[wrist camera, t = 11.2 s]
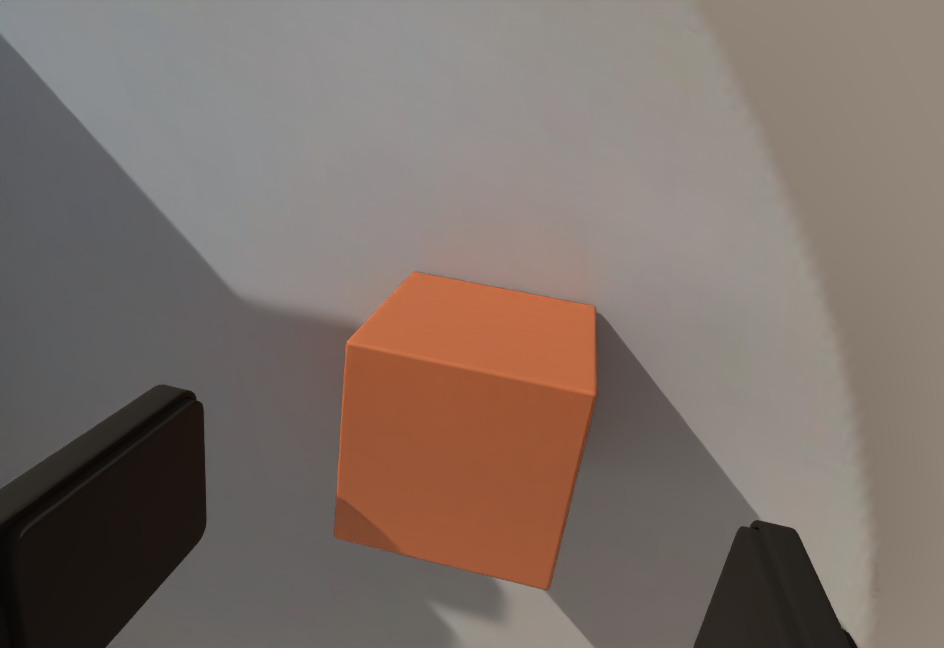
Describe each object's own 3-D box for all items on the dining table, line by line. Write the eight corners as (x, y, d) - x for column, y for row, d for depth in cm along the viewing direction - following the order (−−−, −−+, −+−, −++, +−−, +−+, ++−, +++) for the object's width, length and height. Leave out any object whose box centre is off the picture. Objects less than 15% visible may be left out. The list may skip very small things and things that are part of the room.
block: (412, 270, 15) (344, 340, 11) (596, 305, 14) (598, 393, 10) (396, 426, 16) (332, 538, 12) (560, 463, 16) (549, 592, 12)
